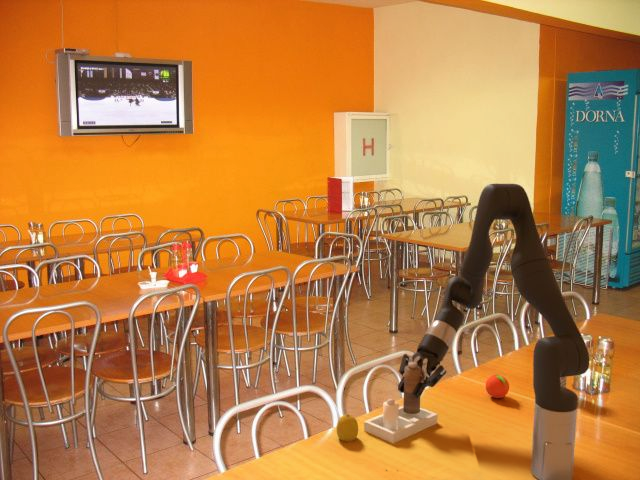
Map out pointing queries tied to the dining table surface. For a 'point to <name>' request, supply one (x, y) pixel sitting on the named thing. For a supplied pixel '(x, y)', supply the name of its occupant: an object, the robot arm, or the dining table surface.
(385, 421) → the salt shaker
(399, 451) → the dining table surface
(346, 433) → the lemon
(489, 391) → the clementine
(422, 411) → the caddy
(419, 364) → the robot arm
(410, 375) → the pepper mill
